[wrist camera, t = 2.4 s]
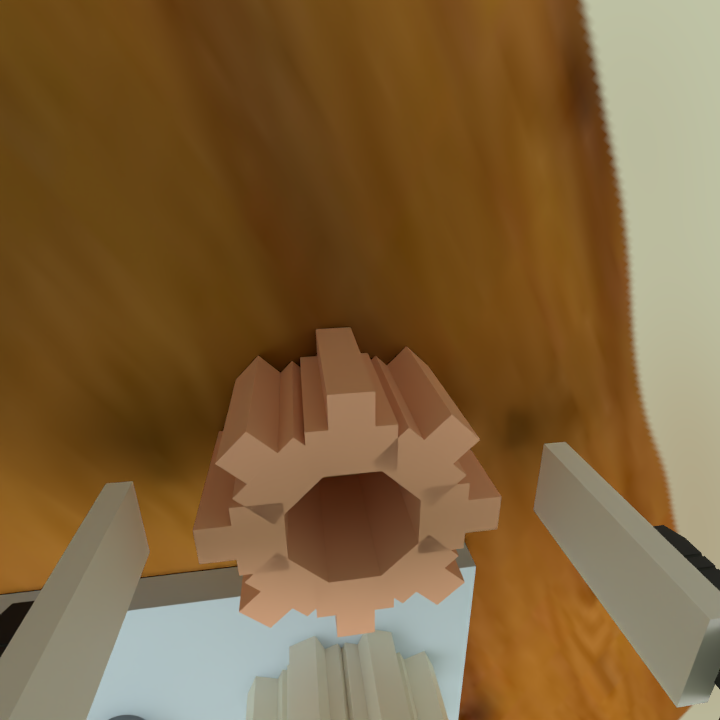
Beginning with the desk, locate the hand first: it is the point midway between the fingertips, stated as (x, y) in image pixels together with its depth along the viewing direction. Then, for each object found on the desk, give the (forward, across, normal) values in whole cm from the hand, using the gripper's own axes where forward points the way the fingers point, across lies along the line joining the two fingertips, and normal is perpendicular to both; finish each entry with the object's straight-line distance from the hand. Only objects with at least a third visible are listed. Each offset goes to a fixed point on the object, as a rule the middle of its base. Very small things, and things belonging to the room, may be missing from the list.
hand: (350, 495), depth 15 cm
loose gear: (+3, 0, 0) cm, 3 cm away
